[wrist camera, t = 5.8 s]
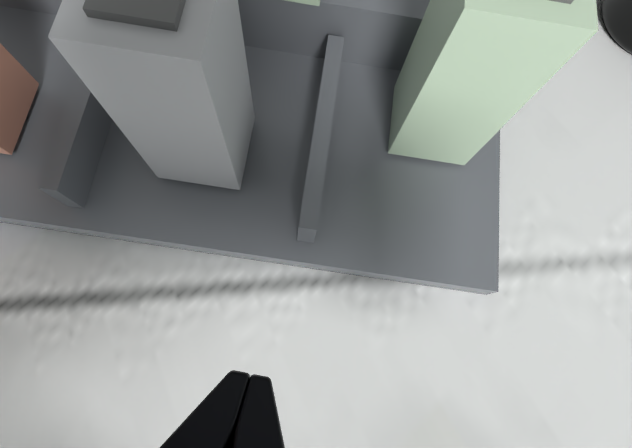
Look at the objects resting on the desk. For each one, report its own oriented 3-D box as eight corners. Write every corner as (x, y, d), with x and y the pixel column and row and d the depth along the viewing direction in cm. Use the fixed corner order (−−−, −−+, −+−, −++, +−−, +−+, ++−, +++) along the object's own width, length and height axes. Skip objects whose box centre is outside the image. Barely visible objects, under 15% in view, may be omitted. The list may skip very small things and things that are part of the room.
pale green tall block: (464, 165, 21) (605, 22, 12) (387, 153, 21) (468, -1, 12) (466, 98, 22) (597, -81, 13) (394, 86, 22) (472, -103, 13)
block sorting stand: (486, 294, 21) (553, 278, 16) (-114, 204, 20) (-256, 155, 15) (491, 60, 25) (545, -17, 20) (-9, -22, 24) (-91, -124, 19)
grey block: (240, 190, 20) (197, 53, 11) (157, 177, 20) (41, 28, 10) (254, 117, 21) (228, -64, 12) (177, 105, 21) (87, -88, 12)
